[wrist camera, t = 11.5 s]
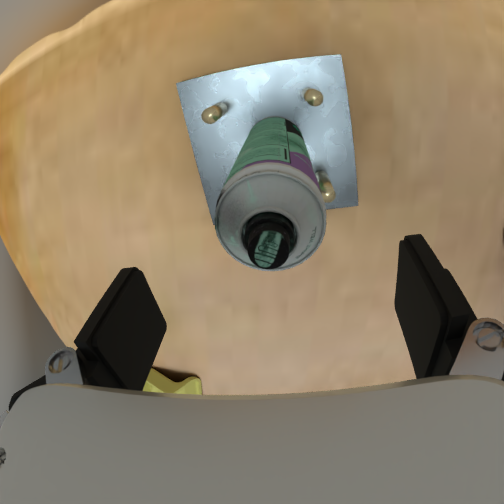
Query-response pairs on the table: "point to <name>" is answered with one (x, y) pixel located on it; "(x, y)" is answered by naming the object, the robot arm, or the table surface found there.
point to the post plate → (267, 105)
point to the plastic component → (171, 384)
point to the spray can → (271, 200)
